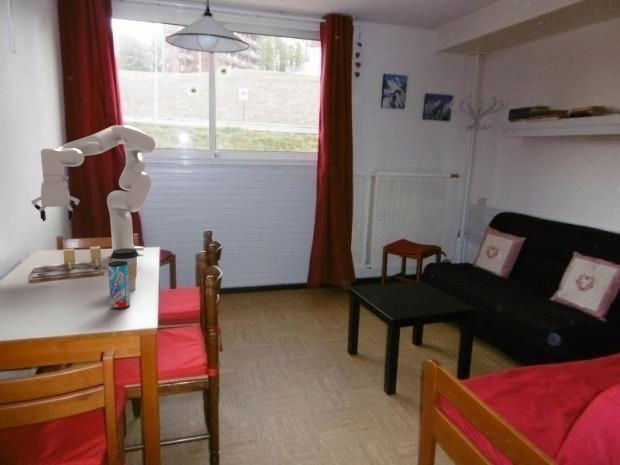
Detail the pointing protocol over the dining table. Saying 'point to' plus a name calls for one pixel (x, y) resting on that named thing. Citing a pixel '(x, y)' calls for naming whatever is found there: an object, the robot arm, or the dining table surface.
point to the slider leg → (69, 257)
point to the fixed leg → (95, 255)
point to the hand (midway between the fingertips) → (57, 220)
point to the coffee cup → (131, 258)
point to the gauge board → (65, 271)
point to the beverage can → (119, 284)
